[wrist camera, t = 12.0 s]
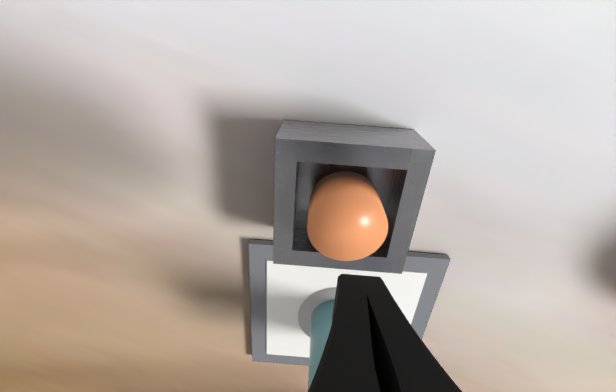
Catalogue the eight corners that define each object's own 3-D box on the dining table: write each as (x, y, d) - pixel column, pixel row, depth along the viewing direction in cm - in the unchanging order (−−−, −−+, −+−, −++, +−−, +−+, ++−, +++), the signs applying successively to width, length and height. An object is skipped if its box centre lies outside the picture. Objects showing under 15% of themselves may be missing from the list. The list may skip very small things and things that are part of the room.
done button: (372, 234, 16) (380, 263, 14) (307, 229, 16) (304, 258, 14) (385, 174, 15) (395, 196, 13) (311, 168, 15) (309, 190, 13)
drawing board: (407, 368, 25) (409, 376, 25) (253, 355, 25) (251, 363, 25) (447, 254, 20) (451, 261, 19) (250, 239, 20) (247, 245, 19)
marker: (361, 339, 23) (379, 474, 16) (309, 335, 23) (303, 468, 16) (370, 301, 21) (394, 435, 14) (313, 296, 21) (308, 427, 14)
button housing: (389, 237, 19) (402, 273, 16) (280, 228, 19) (273, 263, 16) (414, 129, 16) (435, 150, 13) (283, 119, 16) (274, 138, 13)
